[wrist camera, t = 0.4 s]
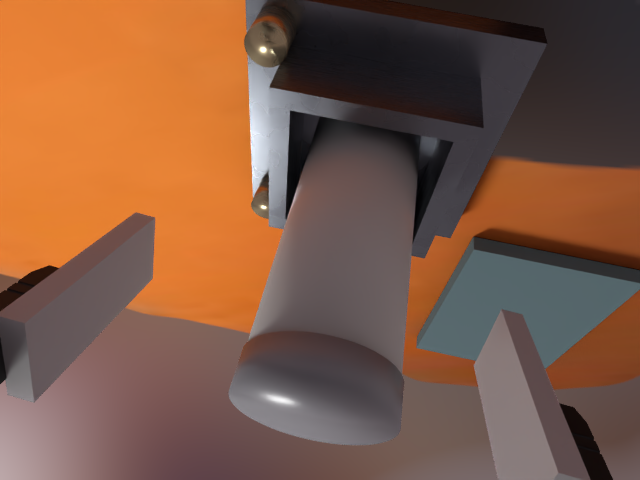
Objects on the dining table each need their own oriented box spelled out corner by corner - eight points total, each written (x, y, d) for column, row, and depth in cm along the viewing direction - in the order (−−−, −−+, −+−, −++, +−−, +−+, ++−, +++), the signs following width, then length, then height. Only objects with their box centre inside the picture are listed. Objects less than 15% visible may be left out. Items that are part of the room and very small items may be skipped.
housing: (254, -24, 22) (216, 29, 19) (543, 28, 21) (560, 93, 18) (258, 183, 33) (235, 241, 30) (450, 222, 32) (449, 285, 29)
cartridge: (319, 80, 24) (221, 360, 14) (436, 102, 24) (421, 404, 14) (311, 167, 29) (233, 422, 19) (407, 186, 28) (381, 456, 18)
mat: (473, 236, 33) (473, 249, 32) (641, 270, 32) (645, 284, 32) (417, 336, 45) (416, 347, 45) (537, 362, 45) (538, 374, 44)
